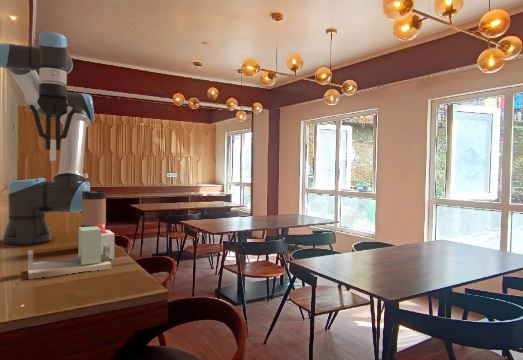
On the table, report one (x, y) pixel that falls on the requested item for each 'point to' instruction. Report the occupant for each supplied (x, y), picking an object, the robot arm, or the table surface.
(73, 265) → the rail
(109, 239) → the hollow box
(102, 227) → the button
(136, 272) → the table surface
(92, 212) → the travel mug
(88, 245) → the carriage
